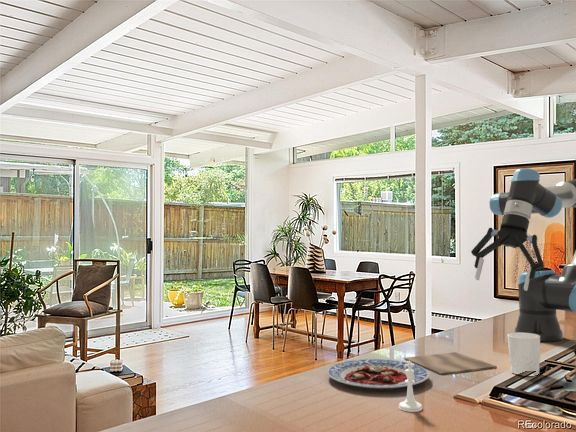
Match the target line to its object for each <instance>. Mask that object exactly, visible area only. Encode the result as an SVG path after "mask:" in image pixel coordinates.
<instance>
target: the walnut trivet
mask: <svg viewBox="0 0 576 432" xmlns="http://www.w3.org/2000/svg"><path fill="white" fill-rule="evenodd" d="M404 359H405V360H404V361H406V362H408V361H411V362H412V363H411V364H415V365H418V366H420V367H423V368H424V369H426V370H427V371H430V372H432V373H435V374H437V375H440V376H445V375H452V374H460V373H468V372H477V371H484V370H485V371H486V370H491V369H497V368H498V367H497V365H495V364H493V363H492V364H491V363H488V362H485V361H484V360H480V359H476V358H473V357H471V356H468V355H465V354H462V353H459V352H456V351H455V352H446V353H437V354H436V353H435V354H434V353H433V354H425V355H418V356H409V357H408V356H407V357H404Z"/></svg>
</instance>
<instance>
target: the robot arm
mask: <svg viewBox="0 0 576 432" xmlns="http://www.w3.org/2000/svg"><path fill="white" fill-rule="evenodd" d="M540 177H541V175H540V172H539V171H537V170H535V169H534V168H533V169H532V168H528V167H527V168H525V167H524V168H518V169H516V170H515V171H514V173H513V175H512V178H511V181H510V186H509V187H510V188H509V191H508V192H498V193H494V194H493V195H492V196H491V197H490V199H489V209H490V211H491V213H493V214H494V215H496V216H502V219H501V223H500V227H499V229H498V230H497V229H494V228H492V227H488V230H487V232H486V234H485V235H484V236H483V237H482V239H480V241H478V243H477V244H476V245H475V246H474V247H473V248H472V249H471V251H470V252H471V254H472V256H473V257H475V261H474V268H475V269H476V272H475V276H474V278H475V280H476V281H480V277H481V274H482V271H483V266H484V263H485V259H484V258H485V257H486V256H487V255H489V254H490V253H491V252H493V251H495V250H496V249H497V248H499V247H501V246H502V245H503V246H504V247H507V248H509V247H511V248H512V249H517V248H519V250H520V251H521V253H522V254H523V256H524V257H525V259H526V260H527V262H528V263H529V265H530V266H528V268H527V271H526V272H521V273H520V274H519V275H518V283H517V286H518V305H519V307H518V308H519V314H518V315H519V316H518V319H517V322H516V325H515V328H514V333H515V332H522V333H532V334H537V335H539V336H540V342H558V341H562V340H564V332H563V330H562V329H561V326H560V323H559V320H558V319H559V318H558V317H557V310H558V311H565V312H571V313H576V250H575V251H574V254H573V257H572V260H571V261H570V263H569V264H566V265H565V266H564V267H563V269H562V271H561V274H556V272H555V270H553V269H551V270H542V269H544V268H545V266H544V265H545V264H544V262H543V259H542V255H541V252H540V249H539V246H538V236H537V234H532V235H528V229H529V225H530V219H531V216H532V215H533V214H539V215H540V216H542V217H544V218H547V219H548V218H554V217H555V216H557V215H558V214H560V212H561V210H562V209H563V208H565V209H568V208H576V178H575V179H571V180H567V181H561V182H559V183H556V184H555V185H551V186H546V187H545V186H543V185H542V184H541V183H540V181H541V180H540ZM496 235H497V237H498V238H496V239H495V240H494V241H493V242H492V243H490V244H489V245H487V244H488V242H490V240H492V238H493V237H495V236H496ZM527 240H528V241H529V243H530V244H531V245H532V249H533V251H534V254H535V258H536V260H537V263H536V262H535V261H534V259H533V258H532V256H531V254H530V253H529V251H528V250H527V248H526V247H525V245H524V243H525V242H527ZM486 245H487V246H486ZM485 246H486V247H485ZM540 269H541V270H540ZM537 270H539V271H537Z"/></svg>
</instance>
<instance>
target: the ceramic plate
mask: <svg viewBox="0 0 576 432" xmlns="http://www.w3.org/2000/svg"><path fill="white" fill-rule="evenodd" d="M405 364H408V361H401V360H395V359H394V360H393V359H382V358H381V359H380V358H373V359H371V358H370V359H368V358H367V359H354V360H347V361H342V362H339V363H336V364H334V365H332V366H330V367H329V368H328V369H327V375H328V377H330V379H332V380H334V381H336V382H338V383H342V384H344V385H349V386H353V387H358V388H361V389H362V388H363V389H368V390H394V389H399V388H404V387H407V386H408V383H405V380H407V376H406V373H405V370H406V369H408V367H406V366H405ZM413 364H414V363H413ZM411 369H413V370H414V374H413V378H412V380H414V381H415V383H413V384H412V386H415V385H418V384H420V383H423V382H425V381H427V380H428V379H429V377H430V373H429V370H428V369H426V368H423V367H421V366H419V365H416V364H414V366H411Z"/></svg>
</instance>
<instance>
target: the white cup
mask: <svg viewBox="0 0 576 432" xmlns="http://www.w3.org/2000/svg"><path fill="white" fill-rule="evenodd" d="M506 335H507V336H506V337H507V347H508V357H509V358H508V359H509V363H510V364H509V365H510V366H509V367H510V372H511V371H512V372H515V373H522V372H525V371H536V372H535V373H534V374H533V375H538V374H539V375H540V362H541V359H540V358H541V341H540V336H539V335H537V334H532V333H522V332H515V331H514V332H510V333H507V334H506ZM539 375H538V376H539Z"/></svg>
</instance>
